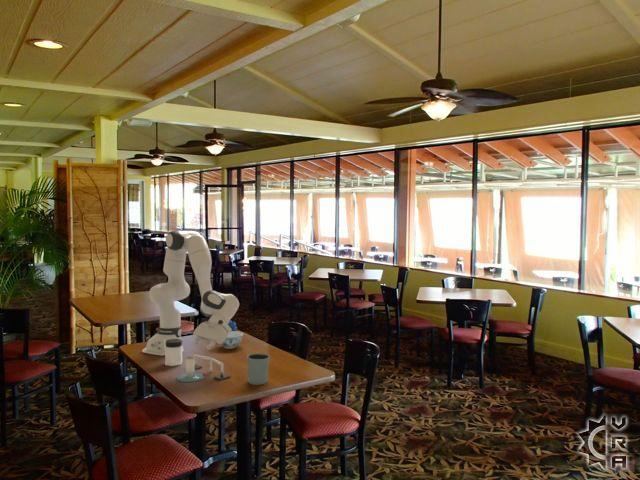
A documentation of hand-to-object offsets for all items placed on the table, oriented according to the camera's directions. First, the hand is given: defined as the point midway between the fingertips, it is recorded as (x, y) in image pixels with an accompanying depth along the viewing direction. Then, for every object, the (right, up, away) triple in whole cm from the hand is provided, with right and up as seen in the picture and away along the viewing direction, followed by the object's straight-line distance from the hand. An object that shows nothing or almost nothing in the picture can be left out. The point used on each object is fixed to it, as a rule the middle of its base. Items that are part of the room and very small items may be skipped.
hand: (200, 347), depth 240 cm
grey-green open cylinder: (+29, -14, -8) cm, 33 cm away
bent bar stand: (+2, -13, +4) cm, 14 cm away
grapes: (0, -10, +69) cm, 70 cm away
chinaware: (+5, -11, +52) cm, 53 cm away
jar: (-18, -13, +18) cm, 29 cm away
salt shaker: (-4, -13, -4) cm, 14 cm away
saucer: (-4, -14, -4) cm, 15 cm away
